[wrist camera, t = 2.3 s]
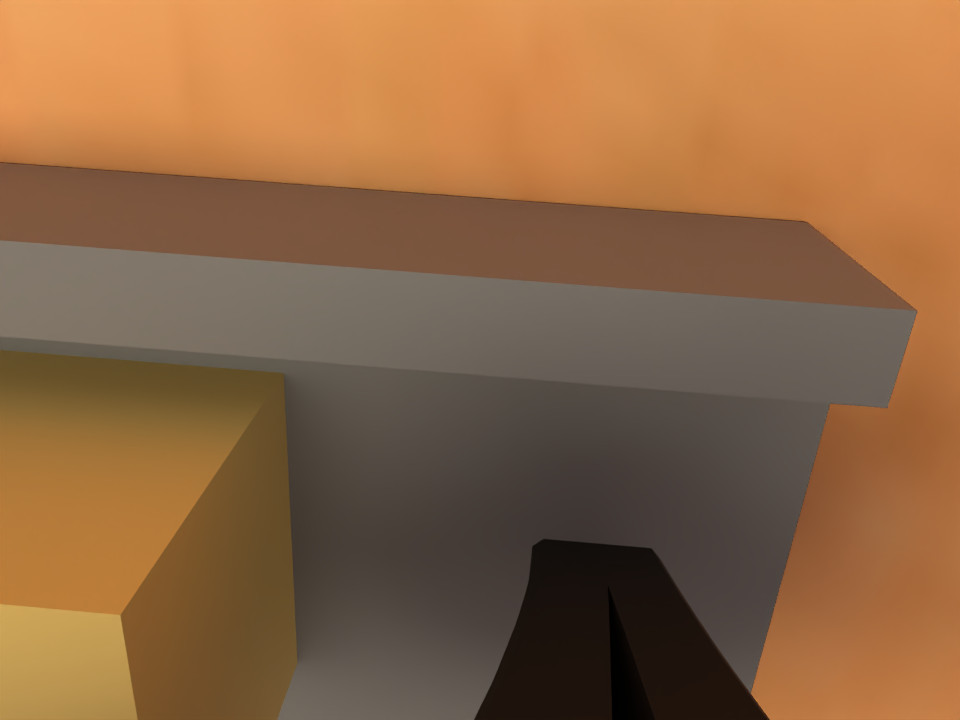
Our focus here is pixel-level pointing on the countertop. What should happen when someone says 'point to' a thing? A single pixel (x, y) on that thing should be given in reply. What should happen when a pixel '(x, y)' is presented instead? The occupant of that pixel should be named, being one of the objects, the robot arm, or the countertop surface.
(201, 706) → the block
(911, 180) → the countertop surface
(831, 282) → the trap tray
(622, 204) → the countertop surface
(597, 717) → the robot arm
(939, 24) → the countertop surface
